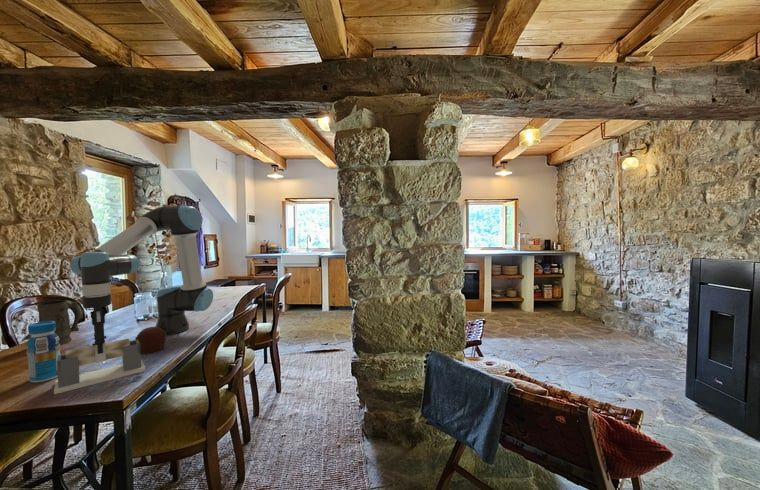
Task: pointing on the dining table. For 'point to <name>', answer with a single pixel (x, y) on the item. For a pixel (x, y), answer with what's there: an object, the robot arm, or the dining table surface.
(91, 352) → the rail
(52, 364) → the beverage bottle
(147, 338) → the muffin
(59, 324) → the beer stein
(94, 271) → the robot arm
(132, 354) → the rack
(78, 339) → the dining table surface
